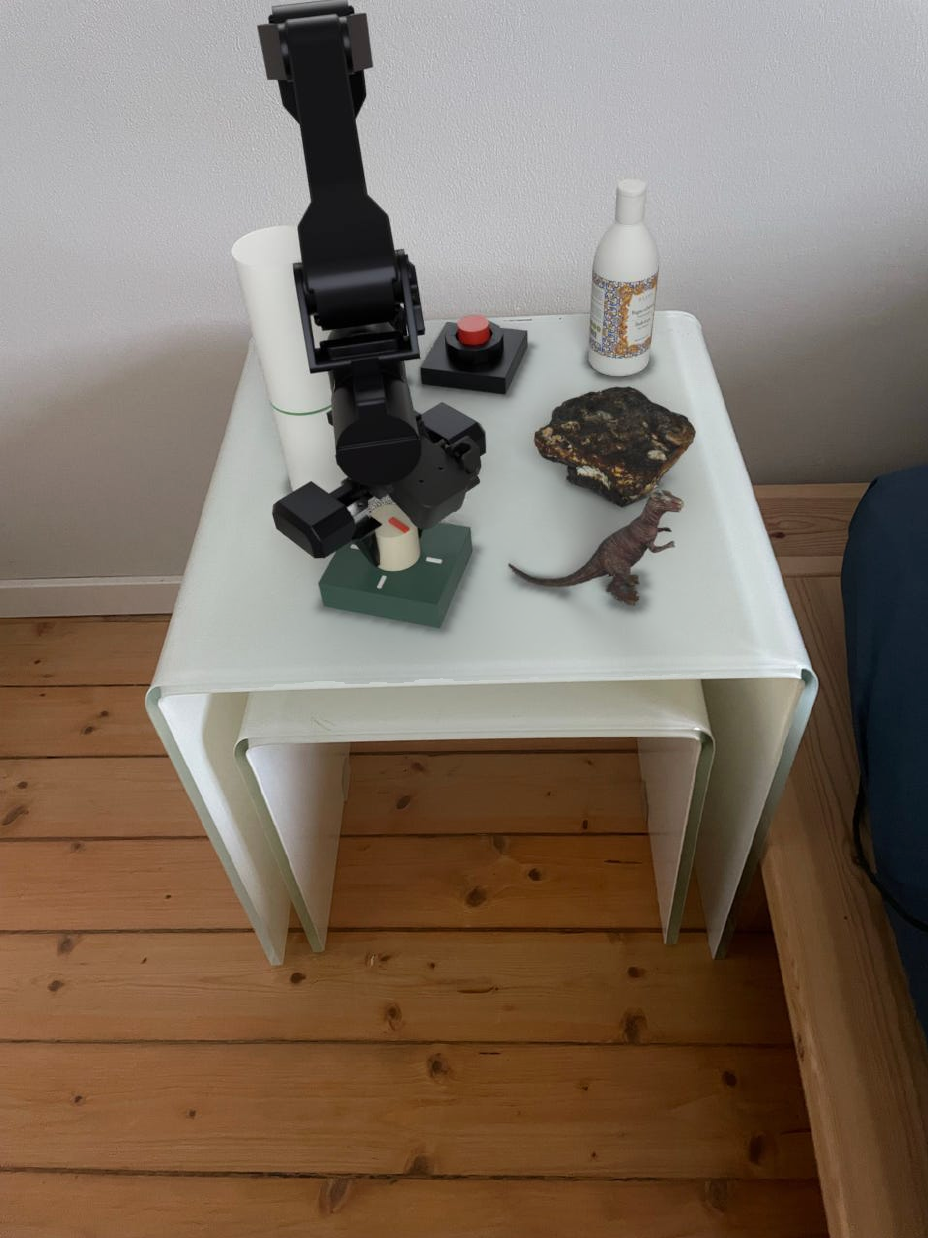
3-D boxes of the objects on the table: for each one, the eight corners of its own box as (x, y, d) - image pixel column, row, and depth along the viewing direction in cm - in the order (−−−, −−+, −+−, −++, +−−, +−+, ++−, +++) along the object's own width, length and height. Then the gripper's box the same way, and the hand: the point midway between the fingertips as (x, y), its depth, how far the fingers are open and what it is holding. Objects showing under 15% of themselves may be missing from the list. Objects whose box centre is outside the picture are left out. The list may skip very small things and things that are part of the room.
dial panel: (323, 606, 82) (317, 581, 79) (363, 532, 88) (358, 507, 86) (439, 628, 79) (436, 603, 77) (472, 550, 86) (470, 525, 83)
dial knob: (361, 555, 82) (354, 519, 78) (397, 530, 83) (392, 494, 80) (393, 579, 79) (387, 542, 76) (430, 552, 81) (426, 516, 78)
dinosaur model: (685, 502, 70) (494, 499, 73) (676, 610, 79) (505, 604, 82) (685, 471, 73) (501, 469, 76) (677, 579, 81) (511, 574, 84)
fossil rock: (594, 409, 99) (597, 362, 95) (706, 456, 93) (714, 409, 88) (515, 476, 92) (514, 429, 88) (629, 532, 86) (634, 485, 82)
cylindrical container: (373, 469, 95) (333, 232, 76) (338, 511, 90) (288, 272, 72) (314, 454, 97) (262, 220, 78) (278, 495, 93) (214, 258, 74)
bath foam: (614, 385, 102) (627, 206, 87) (575, 359, 106) (582, 183, 91) (661, 364, 104) (682, 185, 89) (622, 338, 108) (635, 163, 93)
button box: (421, 384, 104) (418, 353, 101) (447, 337, 111) (445, 307, 108) (505, 394, 102) (504, 363, 99) (527, 346, 108) (527, 316, 105)
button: (454, 343, 103) (453, 329, 102) (463, 327, 105) (462, 313, 104) (484, 347, 102) (484, 333, 101) (493, 330, 104) (493, 316, 103)
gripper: (342, 509, 61) (373, 657, 73) (533, 389, 69) (533, 539, 81) (248, 442, 67) (290, 588, 79) (434, 337, 75) (447, 485, 87)
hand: (395, 550), depth 81 cm, fingers closed on dial knob, 4 cm apart
